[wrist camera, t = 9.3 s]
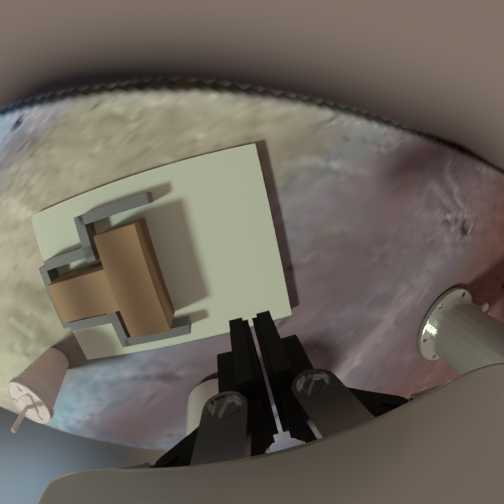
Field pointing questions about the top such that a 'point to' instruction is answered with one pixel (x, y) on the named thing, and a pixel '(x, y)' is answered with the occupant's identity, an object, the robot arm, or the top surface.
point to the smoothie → (38, 387)
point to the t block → (118, 283)
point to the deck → (177, 247)
